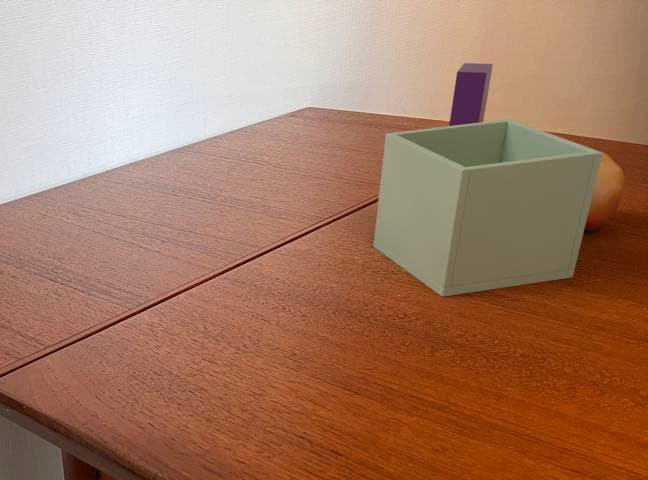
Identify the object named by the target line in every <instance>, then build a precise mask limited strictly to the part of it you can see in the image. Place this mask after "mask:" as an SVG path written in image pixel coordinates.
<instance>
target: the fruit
mask: <svg viewBox="0 0 648 480" xmlns="http://www.w3.org/2000/svg"><path fill="white" fill-rule="evenodd" d="M601 152H602V151H601ZM602 153H603V154H602V158H601V163H600V167H599V171H598V175H597V179H596V183H595V187H594V191H593V196H592V200H591V204H590V208H589V212H588V216H587V220H586V224H585V228H584V232H593V231H596V230H599V229H601V228H603V227H604V226H606V224H607V223H608V222H610V219H611V218H612V217H613V215H614V214H615V213H616V211H617V209H619V208H618V207H619V205H620V203H621V199H622V197H623V192H624V187H625V174H624V171H623V169H622V167H621V166H619V165H618V164H617V163H616V162H615V161H614V160H613V158H612V157H611V156H610V155H608V154H606V153H605V152H602Z"/></svg>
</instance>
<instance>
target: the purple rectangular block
mask: <svg viewBox="0 0 648 480" xmlns="http://www.w3.org/2000/svg"><path fill="white" fill-rule="evenodd" d="M493 66H494V64H493V63H472V62H464V63H463V64H462V65H461V66H460V68H459V69H458V70H457V71H456V77H455V84H454V89H453V90H454V91H453V95H452V104H451V111H450V116H449V124H448V126H455V125H463V124H472V123H480V122H484V120H485V114H486V107H487V101H488V95H489V90H490V85H491V79H492V71H493Z"/></svg>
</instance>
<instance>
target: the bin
mask: <svg viewBox="0 0 648 480" xmlns="http://www.w3.org/2000/svg"><path fill="white" fill-rule="evenodd" d="M603 153H604V152H603ZM603 153H602V151H599V150H597V149H594V148H591V147H588V146H586V145H582V144H580V143H578V142H574V141H573V140H568V139H566V138H563V137H561V136H558V135H555V134H552V133H549V132H547V131H544V130H541V129H539V128H536V127H533V126H529V125H527V124H524V123H522V122H518V121H516V120H513V119H511V118H508V119H499V120H489V121H483V122H480V123H472V124H463V125H455V126H449V125H447V126H439V127H430V128H422V129H421V128H420V129H414V130H413V129H412V130H405V131H403V130H402V131H396V132H387V133H386V134H385V139H384V148H383V156H382V166H381V175H380V183H379V192H378V202H377V209H376V210H377V211H376V220H375V227H374V237H373V245H372V247H373V248H374V249H375V250H377V251H378V252H380V253H381V254H382V255H384V256H385V257H386V258H388V259H389V260H391V261H392V262H393V263H394V264H396V265H398V266H399V267H400V268H402V269H403V270H404V271H406V272H407V273H409V274H410V275H412V276H413V277H414V278H416V280H418V281H420V282H421V283H422V284H424V285H425V286H426V287H428V288H429V289H430V290H432V291H433V292H434V293H436V294H437V295H439V296H440V297H442V298H443V297H444V298H445V297H451V296H456V295H458V296H459V295H463V294H471V293H478V292H484V291H490V290H491V291H493V290H497V289H505V288H510V287H518V286H525V285H531V284H538V283H544V282H545V283H546V282H552V281H558V280H565V279H572V278H574V275H575V270H576V265H577V261H578V257H579V253H580V249H581V245H582V240H583V236H584V232H585V231H584V228H585V224H586V220H587V216H588V212H589V208H590V204H591V200H592V196H593V191H594V187H595V183H596V179H597V175H598V171H599V167H600V163H601V158H602V154H603Z"/></svg>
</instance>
